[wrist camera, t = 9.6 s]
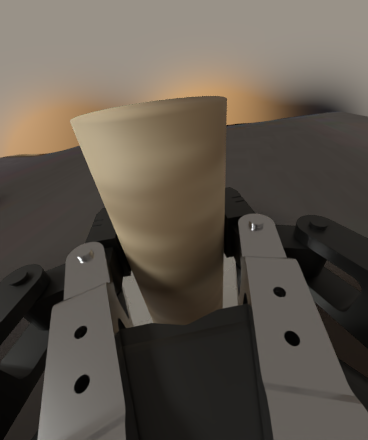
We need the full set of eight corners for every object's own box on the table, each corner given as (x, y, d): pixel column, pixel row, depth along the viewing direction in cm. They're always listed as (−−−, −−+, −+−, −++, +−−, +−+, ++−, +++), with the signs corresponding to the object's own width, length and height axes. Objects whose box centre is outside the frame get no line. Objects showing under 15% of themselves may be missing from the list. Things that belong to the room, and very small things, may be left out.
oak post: (156, 361, 11) (37, 133, 4) (154, 292, 14) (92, 109, 7) (232, 345, 11) (256, 101, 4) (212, 281, 15) (205, 94, 8)
